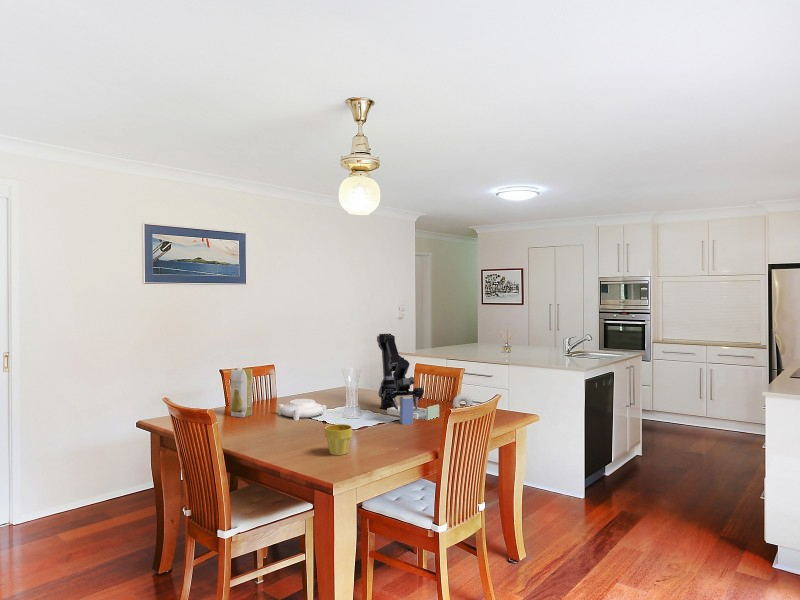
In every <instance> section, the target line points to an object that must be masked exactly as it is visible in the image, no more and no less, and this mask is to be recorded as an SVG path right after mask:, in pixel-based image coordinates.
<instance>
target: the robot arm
mask: <svg viewBox="0 0 800 600" xmlns="http://www.w3.org/2000/svg"><path fill="white" fill-rule="evenodd" d="M395 338H396V336H395V335H394V334H391V333H379V334H378V335H377V336H376V342H377V345H378V348H379V349H380V351H381V358H382V359H381V361H382V374H383V375H382V376H383V377H382V378H383V379H382V380H381V382H380V386H379V390H378V397H379V398H380V406H379V408H378V409H381V410H386V411H387V408H391V407H395V408H396V410H398V406H399V405H398V402H397V397H398V396H399V397H401V396H410V397H412V398H413V406H414V407H415V408H416V409H417V408H418V404H419V400H420V399H422V398H423V395H424V392H425V390H424V388H423V387H414V389H413V390H410V389H411V386H412V385H414V384H416V383H415V381H416V380H415V377H414V376H410V377H406V375H407V373H408V370H409V367H410V362H409V361H408V360H407V359H405V357H402V356H401V355H400V354H399V351H398V348H397V345H396V339H395Z"/></svg>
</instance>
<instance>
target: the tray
mask: <svg viewBox="0 0 800 600" xmlns="http://www.w3.org/2000/svg"><path fill="white" fill-rule="evenodd" d="M425 409H426V413H425V412H424V410H422V409H416V408H413V413H418V414H419V418H418V419H419V420H424V419H425V420H426V421H430V419H431V420H433V418H434V419H437V418H436V417H438V418H440V404H434V405H431V406H430V405H429V406H427V407H426V408H425Z"/></svg>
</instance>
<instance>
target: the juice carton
mask: <svg viewBox="0 0 800 600" xmlns="http://www.w3.org/2000/svg"><path fill="white" fill-rule="evenodd" d="M252 414H253V369H252V368H243V366H237V367H236V368H232V369H231V371H230V416H231V417H234V418H235V417H237V418H247V417H250V416H252Z"/></svg>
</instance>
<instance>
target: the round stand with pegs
mask: <svg viewBox="0 0 800 600" xmlns="http://www.w3.org/2000/svg"><path fill="white" fill-rule="evenodd" d="M277 406H278V407H277V409H278V411H277V413H278V416H279V415H280V416H282V415H283V416H285V417H289V418H293V420H294V421H299V420H300V418H310V417H317V416H321V415H326V416H327V405H324V404H320V403H319V402H316V400H314V399H310V398H296V399H292V400H290V401H289V402H288V403H286V404H284V403H280V404H277Z"/></svg>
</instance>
